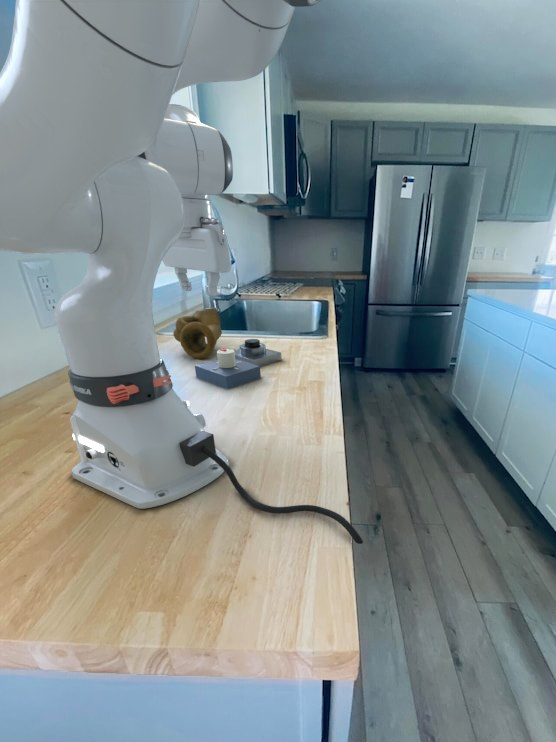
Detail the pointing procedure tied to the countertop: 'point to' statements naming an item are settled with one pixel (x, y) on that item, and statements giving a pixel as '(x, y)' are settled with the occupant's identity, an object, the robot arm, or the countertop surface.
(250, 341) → the button
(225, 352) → the knob
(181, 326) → the brown looped sculpture
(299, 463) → the countertop surface
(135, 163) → the robot arm
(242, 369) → the panel
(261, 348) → the housing
